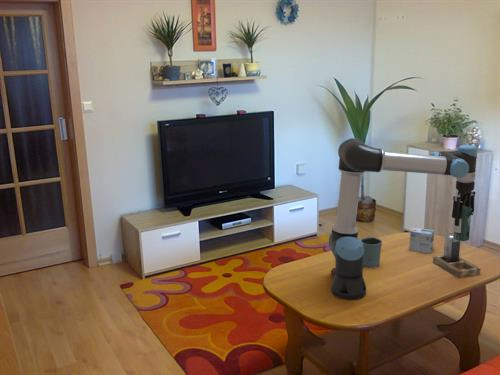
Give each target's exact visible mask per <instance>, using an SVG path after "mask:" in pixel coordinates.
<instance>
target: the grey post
mask: <svg viewBox="0 0 500 375" xmlns="http://www.w3.org/2000/svg"><path fill="white" fill-rule="evenodd" d="M460 250H461V241H458V240H455V239H454V232H453V233H451V232H450V233H445V235H444V248H443V255H444V258H443V260H444V261H446V262H448V263H451V262H457V261H459V257H460Z"/></svg>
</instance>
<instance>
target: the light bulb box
mask: <svg viewBox="0 0 500 375" xmlns="http://www.w3.org/2000/svg"><path fill="white" fill-rule="evenodd" d="M409 234H410V235H409V251H412V252H413V251H414V252H419V253H425V254H431V253H432V251H433V249H434V238H435V236H434V235H435V229H434V230H433V229H427V228H419V227H416V226H415V227H413V228H412V229H410V233H409Z"/></svg>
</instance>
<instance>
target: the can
mask: <svg viewBox="0 0 500 375" xmlns="http://www.w3.org/2000/svg"><path fill="white" fill-rule="evenodd" d="M471 210H472V209H471V207H470V206H466V205H464V206H463V210H462V214H461V218H460V219H462V221H461V233H457V232H454V231H453V234H454V239H455V240H458V241H460V242H467V241H469V240H470V232H471V218H472V215H471Z"/></svg>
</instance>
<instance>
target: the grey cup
mask: <svg viewBox="0 0 500 375" xmlns="http://www.w3.org/2000/svg"><path fill="white" fill-rule="evenodd" d="M360 241H361V242H362V243H363V247H364V254H363V267H366V268H376V267H378V266H380V259H381V252H382V244H383V241H382V239H380V238H378V237H371V236H369V237H363V238H361V239H360Z"/></svg>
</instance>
